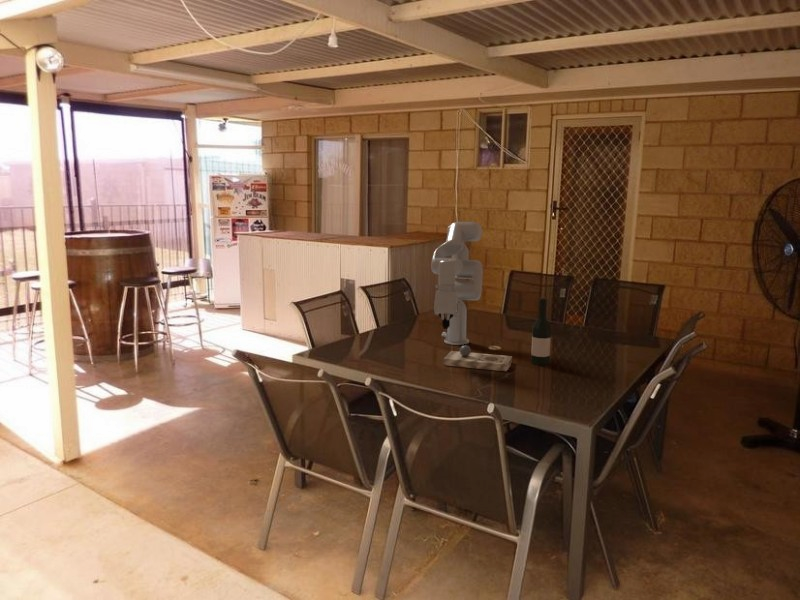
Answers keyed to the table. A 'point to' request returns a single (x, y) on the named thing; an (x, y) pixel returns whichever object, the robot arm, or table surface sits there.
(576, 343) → the table surface
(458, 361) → the beige flat board
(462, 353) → the ball
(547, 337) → the wine bottle
